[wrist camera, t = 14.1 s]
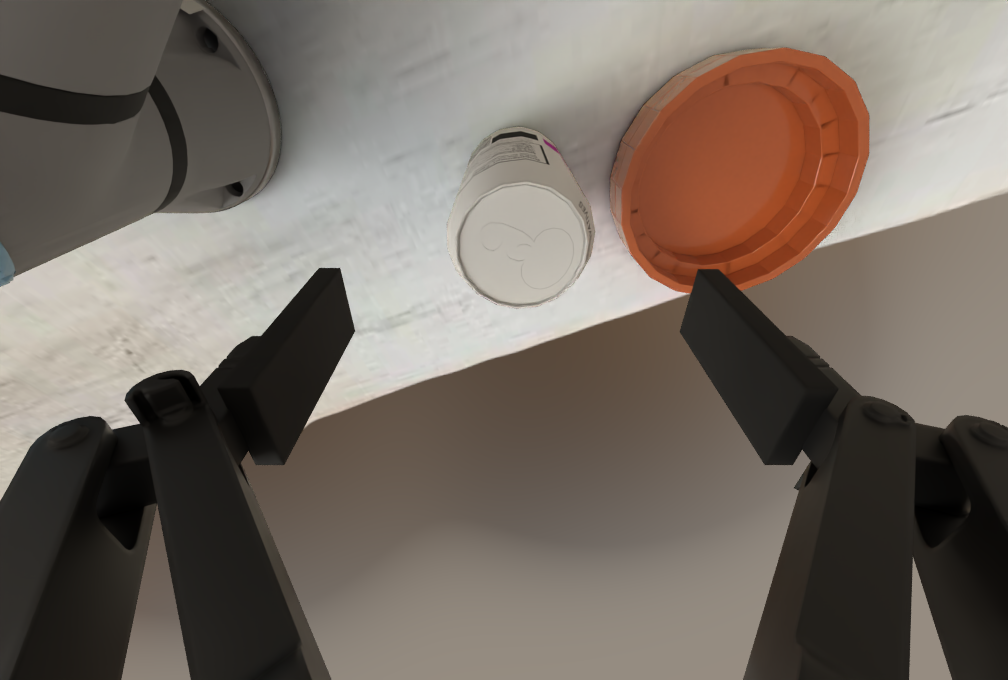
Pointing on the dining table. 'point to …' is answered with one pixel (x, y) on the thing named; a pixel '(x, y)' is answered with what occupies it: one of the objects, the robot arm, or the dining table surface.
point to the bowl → (739, 166)
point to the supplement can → (519, 221)
